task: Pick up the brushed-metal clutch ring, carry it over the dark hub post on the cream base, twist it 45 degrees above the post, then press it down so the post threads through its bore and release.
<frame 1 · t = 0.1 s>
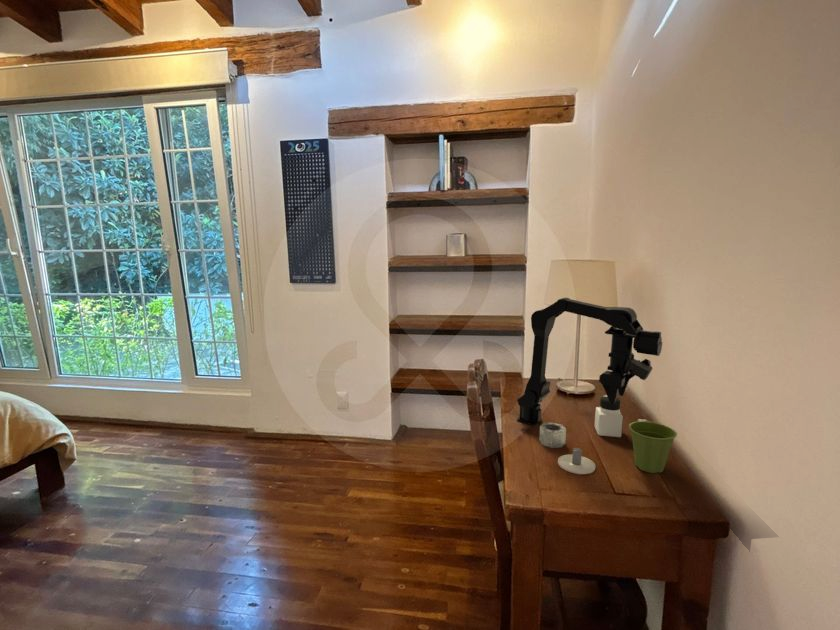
hand: (617, 399, 136), 15 cm above the table, fingers open, 9 cm apart
plant pot: (648, 467, 125), on the table
medicine bottle: (607, 432, 147), on the table
clutch ring: (552, 442, 140), on the table
hub post: (576, 465, 126), on the table
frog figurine: (644, 441, 141), on the table
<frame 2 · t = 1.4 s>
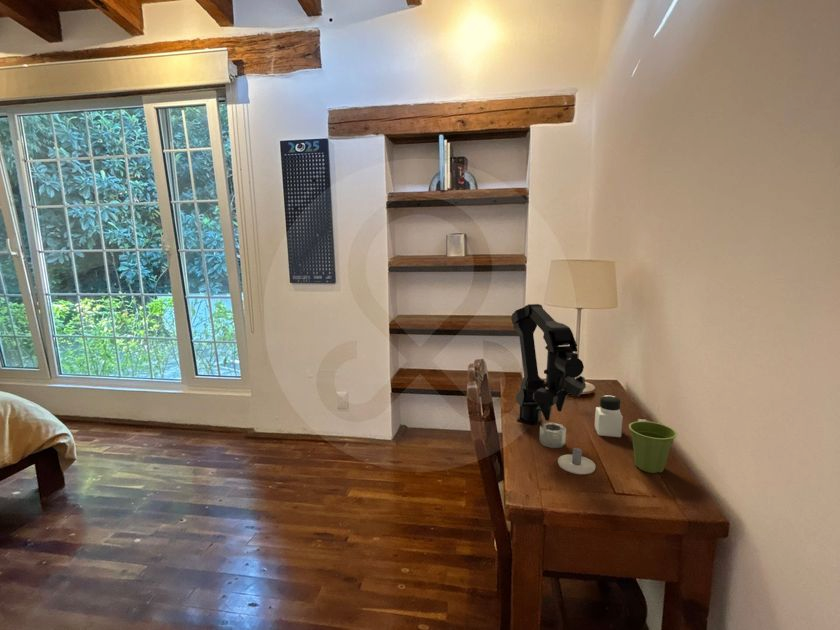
hand: (553, 415, 138), 9 cm above the table, fingers open, 9 cm apart
nothing on the table moved.
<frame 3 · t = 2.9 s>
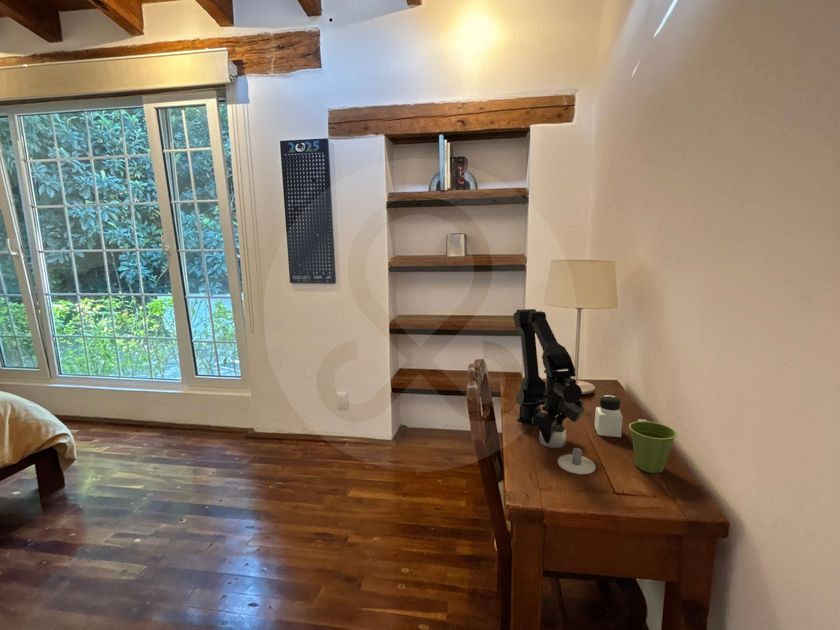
hand: (552, 438, 139), 1 cm above the table, fingers closed on clutch ring, 7 cm apart
clutch ring: (552, 442, 140), on the table, touching gripper
everything else where it was.
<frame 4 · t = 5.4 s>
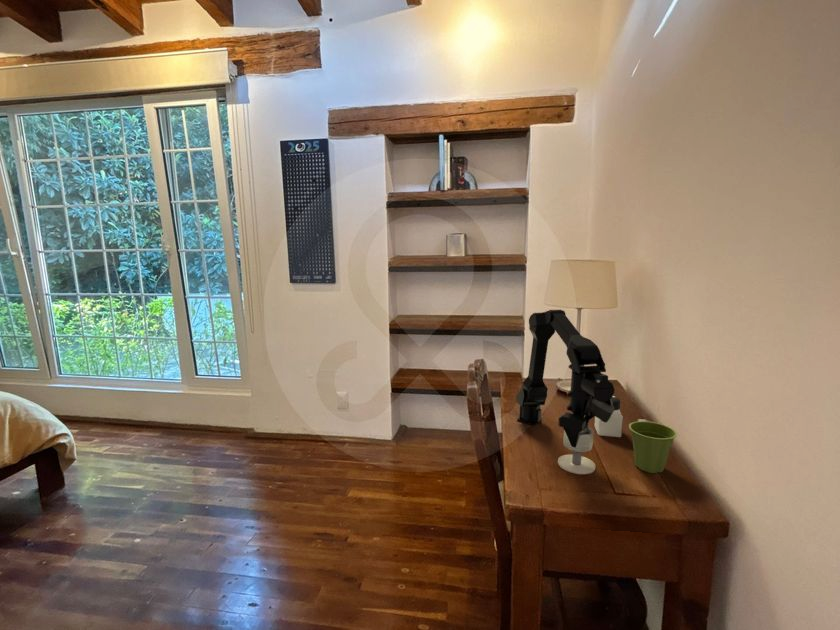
hand: (577, 441, 125), 7 cm above the table, fingers closed on clutch ring, 7 cm apart
clutch ring: (577, 445, 125), point 6 cm above the table, touching gripper
everything else where it was.
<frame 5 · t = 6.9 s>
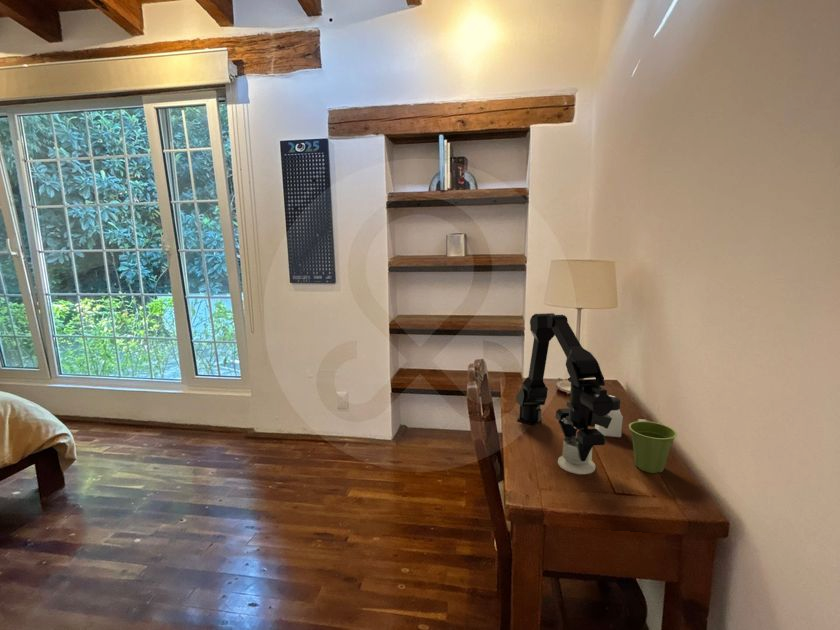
hand: (576, 454, 125), 3 cm above the table, fingers closed on clutch ring, 7 cm apart
clutch ring: (576, 458, 126), point 2 cm above the table, touching gripper
everything else where it was.
when the fingers open (3 cm above the table, at t = 7.9 s): clutch ring drops 1 cm, resting on hub post.
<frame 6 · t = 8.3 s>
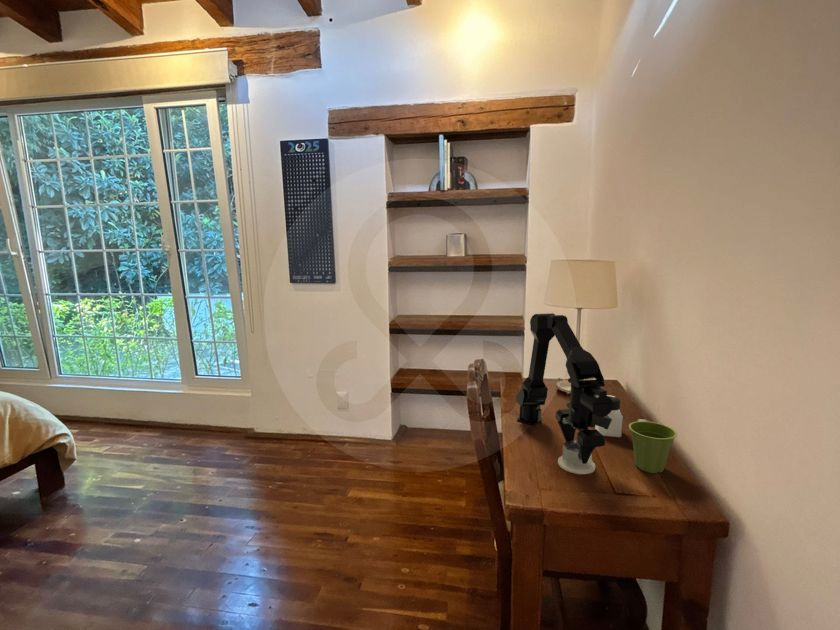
hand: (576, 455, 125), 3 cm above the table, fingers open, 9 cm apart
clutch ring: (576, 462, 126), point 1 cm above the table, touching hub post
everything else where it was.
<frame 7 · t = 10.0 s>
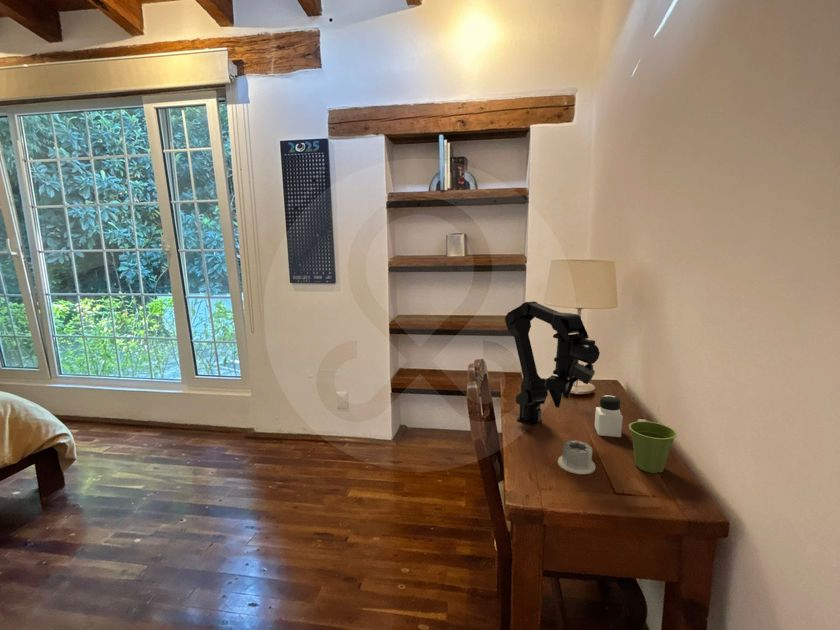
hand: (562, 402, 140), 12 cm above the table, fingers open, 9 cm apart
nothing on the table moved.
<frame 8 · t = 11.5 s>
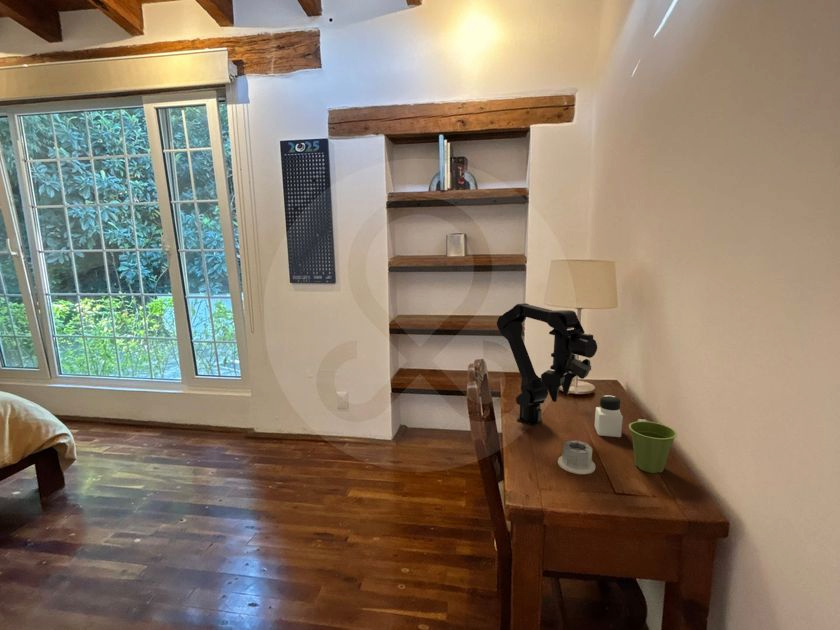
hand: (560, 397, 143), 13 cm above the table, fingers open, 9 cm apart
nothing on the table moved.
at the end: clutch ring 0.1 cm off-centre on the hub post, point 0.6 cm above the hub post's base; clutch ring tilted 0°; the gripper is holding nothing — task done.
